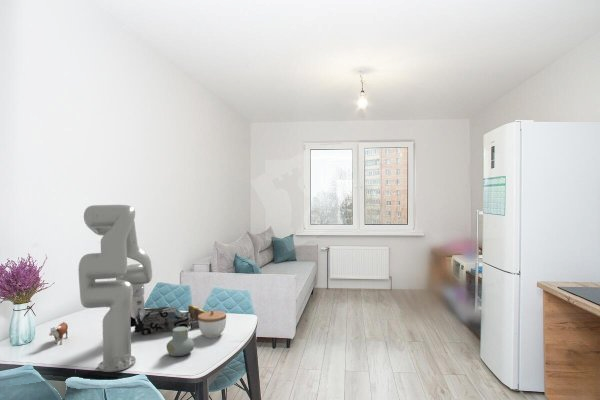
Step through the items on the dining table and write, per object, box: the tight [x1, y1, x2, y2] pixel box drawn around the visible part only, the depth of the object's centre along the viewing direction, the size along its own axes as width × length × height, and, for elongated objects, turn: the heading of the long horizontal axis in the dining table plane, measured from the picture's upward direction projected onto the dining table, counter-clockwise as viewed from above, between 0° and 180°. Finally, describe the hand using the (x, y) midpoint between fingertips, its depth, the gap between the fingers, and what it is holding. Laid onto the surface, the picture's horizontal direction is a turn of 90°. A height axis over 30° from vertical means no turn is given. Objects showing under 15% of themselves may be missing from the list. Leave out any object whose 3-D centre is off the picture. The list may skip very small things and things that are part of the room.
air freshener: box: [166, 327, 195, 357], centre depth 153 cm, size 11×8×10 cm
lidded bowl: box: [198, 309, 227, 339], centre depth 174 cm, size 13×13×11 cm
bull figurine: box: [48, 321, 69, 346], centre depth 167 cm, size 4×13×8 cm, turn 11°
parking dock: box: [187, 304, 207, 330], centre depth 191 cm, size 19×9×6 cm, turn 41°
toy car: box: [133, 306, 192, 336], centre depth 181 cm, size 11×25×10 cm, turn 107°
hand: (135, 329), depth 174 cm, fingers open, 9 cm apart
